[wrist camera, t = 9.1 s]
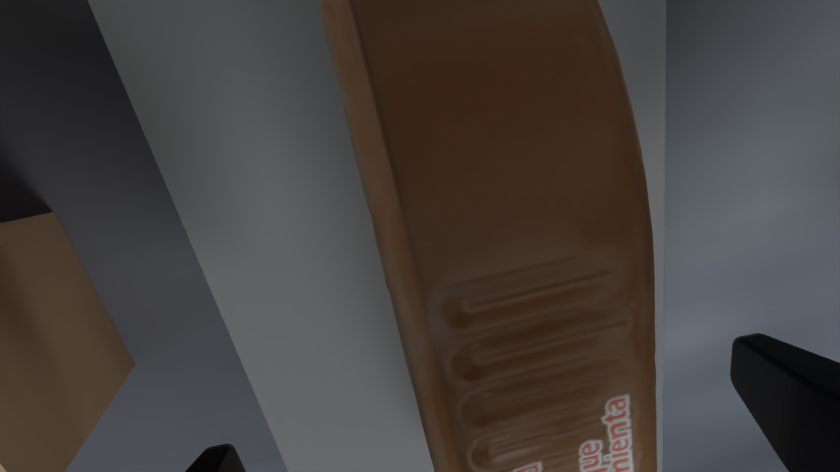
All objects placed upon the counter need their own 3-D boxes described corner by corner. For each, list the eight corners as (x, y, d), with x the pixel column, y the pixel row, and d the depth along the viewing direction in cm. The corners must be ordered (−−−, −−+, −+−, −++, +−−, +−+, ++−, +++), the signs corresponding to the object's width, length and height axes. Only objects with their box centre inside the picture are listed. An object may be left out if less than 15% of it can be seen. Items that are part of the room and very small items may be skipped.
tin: (310, -59, 10) (136, -237, 3) (464, -93, 10) (723, -361, 3) (439, 466, 17) (496, 861, 9) (535, 446, 17) (673, 824, 9)
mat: (322, 519, 19) (319, 545, 18) (75, -85, 11) (47, -93, 10) (648, 451, 19) (662, 474, 18) (643, -208, 11) (668, -228, 10)
